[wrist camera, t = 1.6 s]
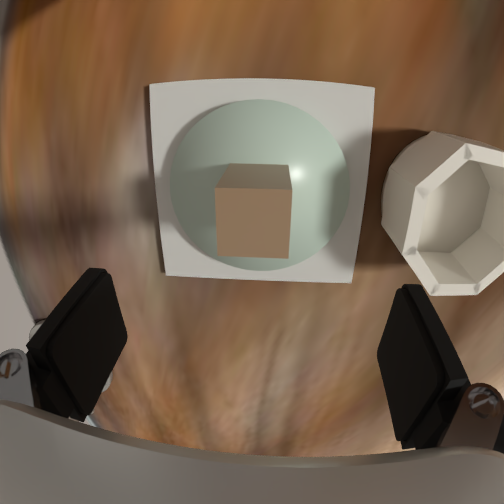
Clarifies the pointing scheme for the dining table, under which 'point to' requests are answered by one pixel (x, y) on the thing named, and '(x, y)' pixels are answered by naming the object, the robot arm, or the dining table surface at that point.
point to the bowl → (447, 212)
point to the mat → (283, 90)
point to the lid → (259, 185)
